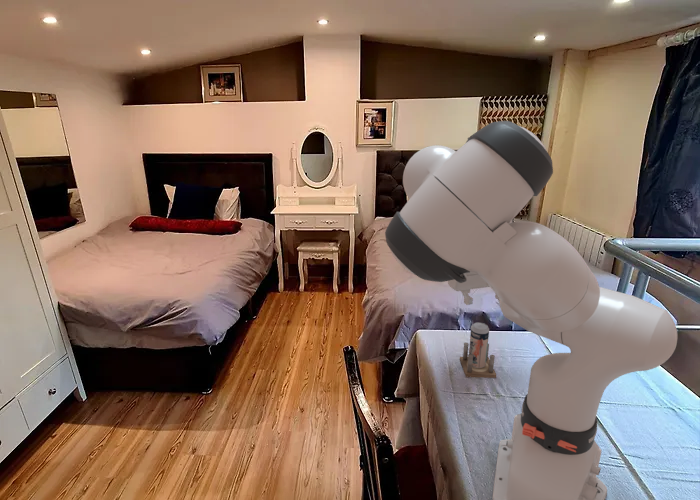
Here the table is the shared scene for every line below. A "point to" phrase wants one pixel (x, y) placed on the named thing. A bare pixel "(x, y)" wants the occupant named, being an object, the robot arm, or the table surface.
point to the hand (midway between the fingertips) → (483, 301)
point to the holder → (477, 372)
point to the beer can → (479, 344)
